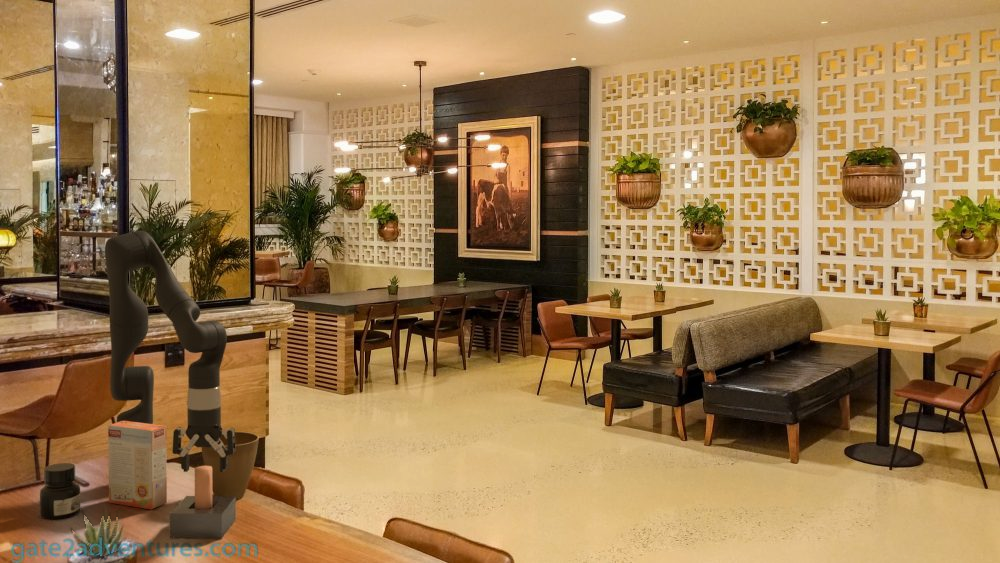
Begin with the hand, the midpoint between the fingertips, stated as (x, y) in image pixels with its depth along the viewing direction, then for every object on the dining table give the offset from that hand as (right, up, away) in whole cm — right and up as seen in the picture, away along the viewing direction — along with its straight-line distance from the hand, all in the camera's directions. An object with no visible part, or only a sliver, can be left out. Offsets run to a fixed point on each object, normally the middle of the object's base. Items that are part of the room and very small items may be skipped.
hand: (204, 470), depth 199 cm
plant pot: (-2, -12, +24) cm, 27 cm away
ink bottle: (-39, -13, +8) cm, 42 cm away
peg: (-1, -13, +1) cm, 13 cm away
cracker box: (-23, -13, +17) cm, 31 cm away
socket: (-1, -14, +1) cm, 14 cm away
